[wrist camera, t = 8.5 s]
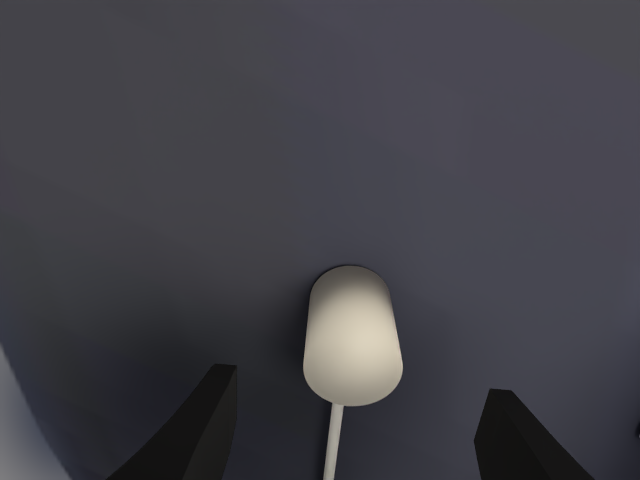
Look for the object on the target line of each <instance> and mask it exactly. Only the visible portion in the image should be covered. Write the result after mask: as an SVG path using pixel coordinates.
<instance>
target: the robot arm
mask: <svg viewBox="0 0 640 480" xmlns="http://www.w3.org/2000/svg"><path fill="white" fill-rule="evenodd" d="M236 419H237V366H235V365H224V364H214V365H213V366H212V367H211V368H210V370H209V371H208V372H207V374H206V375H205V377H204V378H203V379H202V381H201V382H200V383H199V385H198V386H197V387H196V388H195V390H194V391H193V392H192V393H191V395H190V396H189V397H188V398H187V400H186V401H185V402H184V403H183V404H182V405H181V406H180V408H179V409H178V410H177V411H176V412H175V413H174V415H173V416H172V417H171V418H170V419H169V420H168V421H167V422H166V423H165V424H164V425H163V427H162V428H161V429H160V430H159V431H158V432H157V433H156V434H155V435H154V436H153V437H152V438H151V439H150V440H149V441H148V442H147V443H146V444H145V445H144V446H143V447H142V448H141V449H140V450H139V451H138V452H137V453H136V454H135V455H133V456H132V457H131V458H130V459H129V460H128V461H127V462H126V463H125V464H123V465H122V466H121V467H120V468H119V469H118V470H117V471H115V472H114V473H113V474H112V475H111V476H109V477H108V478H107V479H106V480H221V479H222V476H223V472H224V469H225V466H226V463H227V460H228V457H229V453H230V449H231V444H232V439H233V434H234V429H235V424H236ZM639 437H640V436H639ZM474 444H475V450H476V455H477V461H478V465H479V470H480V475H481V479H482V480H595V479H594V478H593V477H592V476H591V475H590V474H588V473H587V472H586V471H585V470H584V469H583V468H582V467H581V466H580V465H579V464H578V463H577V462H576V461H575V460H574V458H573V457H572V456H571V455H570V454H569V453H568V452H567V451H566V450H565V449H564V448H563V447H562V446H561V445H560V444H559V443H558V442H557V441H556V439H555V438H554V437H553V436H552V435H551V434H550V433H549V432H548V431H547V430H546V428H545V427H544V426H543V425H542V424H541V423H540V422H539V421H538V420H537V418H536V417H535V416H534V415H533V414H532V413H531V412H530V411H529V409H528V408H527V407H526V406H525V405H524V404H523V403H522V402H521V400H520V399H519V398H518V397H517V396H516V395H515V394H514V393H513V392H512V391H511V390H501V389H490V390H489V393H488V396H487V399H486V403H485V406H484V409H483V412H482V416H481V419H480V422H479V425H478V429H477V432H476V435H475V438H474Z"/></svg>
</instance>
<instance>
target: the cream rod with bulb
mask: <svg viewBox="0 0 640 480" xmlns="http://www.w3.org/2000/svg"><path fill="white" fill-rule="evenodd" d="M303 371H304V376H305V379H306V381H307V383H308V385H309V386H310V387H311V389H312V390H313V391H314V392H315V393H316V394H317V395H319V396H320V397H322V398H323V399H325V400H327V401H329V402H332V410H331V419H330V427H329V435H328V443H327V452H326V460H325V468H324V476H323V480H334V474H335V466H336V459H337V452H338V444H339V437H340V429H341V422H342V415H343V407H344V406H362V405H367V404H371V403H374V402H377V401H379V400H381V399H383V398H384V397H386V396H387V395H389V394H390V393H391V392H392V391H393V390H394V389H395V388H396V386H397V385H398V383H399V381H400V379H401V376H402V371H403V363H402V358H401V352H400V347H399V341H398V336H397V330H396V325H395V320H394V314H393V309H392V303H391V298H390V293H389V290H388V287H387V285H386V283H385V282H384V281H383V279H382V278H381V277H380V276H379V275H377V274H376V273H374V272H373V271H371V270H369V269H366V268H363V267H359V266H342V267H337V268H334V269H332V270H330V271H328V272H326V273H325V274H323V275H322V276H321V277H320V278H319V279H318V280H317V281H316V283H315V284H314V286H313V288H312V290H311V294H310V302H309V312H308V322H307V332H306V342H305V353H304V363H303Z"/></svg>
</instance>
